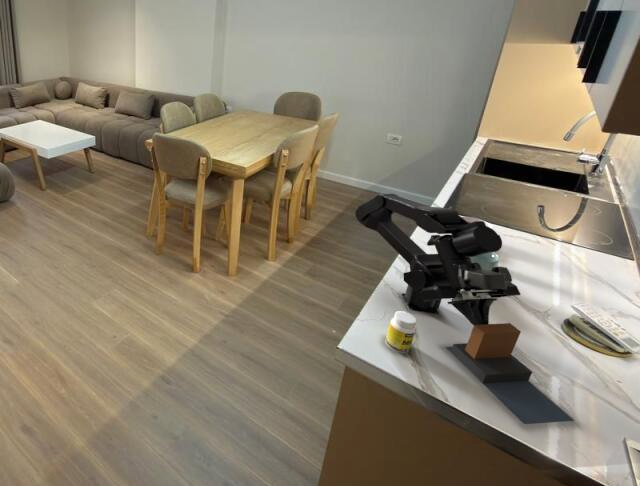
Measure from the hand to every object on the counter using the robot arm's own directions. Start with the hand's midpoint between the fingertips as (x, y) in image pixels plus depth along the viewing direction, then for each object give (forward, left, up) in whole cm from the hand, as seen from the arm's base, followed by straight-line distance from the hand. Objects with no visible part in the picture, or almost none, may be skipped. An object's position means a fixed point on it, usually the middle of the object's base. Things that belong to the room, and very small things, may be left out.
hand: (484, 333), depth 85 cm
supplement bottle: (-16, -1, -7) cm, 17 cm away
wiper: (+1, -3, -6) cm, 7 cm away
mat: (+2, -6, -7) cm, 9 cm away
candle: (+22, +57, -7) cm, 61 cm away
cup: (+11, +30, -7) cm, 33 cm away
